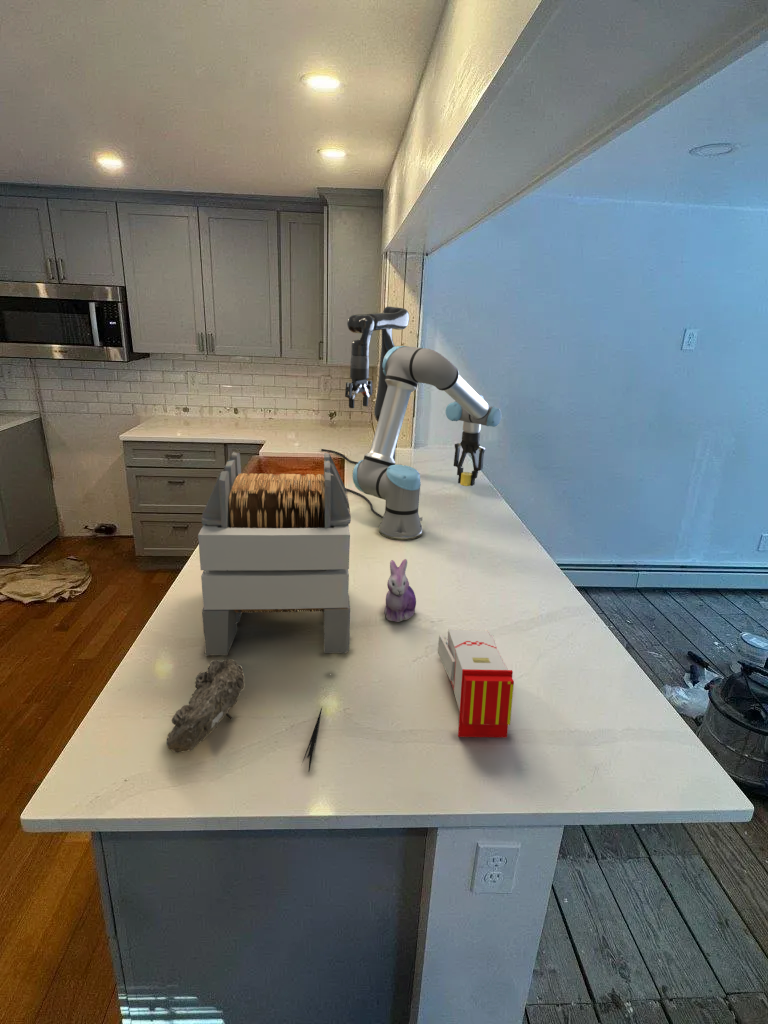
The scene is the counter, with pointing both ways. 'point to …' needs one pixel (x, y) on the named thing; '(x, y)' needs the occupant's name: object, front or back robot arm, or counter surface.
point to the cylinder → (466, 478)
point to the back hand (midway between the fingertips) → (358, 407)
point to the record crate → (275, 551)
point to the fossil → (206, 705)
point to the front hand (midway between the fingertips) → (466, 483)
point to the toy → (478, 682)
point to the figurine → (399, 594)
